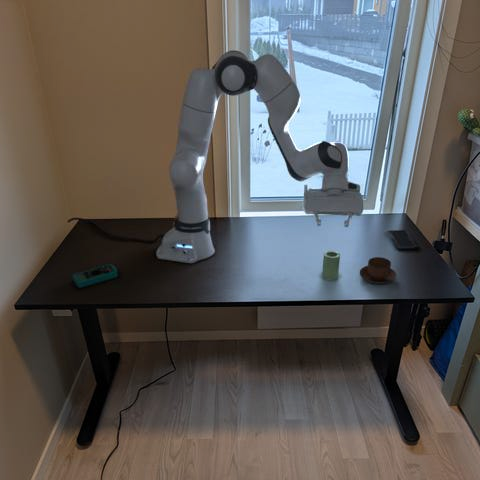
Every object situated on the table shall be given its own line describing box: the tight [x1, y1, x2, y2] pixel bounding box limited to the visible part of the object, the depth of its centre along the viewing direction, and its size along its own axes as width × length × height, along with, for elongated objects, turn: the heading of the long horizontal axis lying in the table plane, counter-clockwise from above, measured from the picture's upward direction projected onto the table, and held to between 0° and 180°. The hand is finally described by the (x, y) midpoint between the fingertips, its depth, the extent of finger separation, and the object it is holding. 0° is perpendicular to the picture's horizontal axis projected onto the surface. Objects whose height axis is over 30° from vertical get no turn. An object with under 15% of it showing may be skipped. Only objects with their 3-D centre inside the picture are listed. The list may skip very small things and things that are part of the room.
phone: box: [386, 229, 418, 251], centre depth 180 cm, size 8×1×15 cm
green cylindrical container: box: [321, 250, 341, 281], centre depth 158 cm, size 5×5×8 cm
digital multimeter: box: [72, 263, 119, 289], centre depth 163 cm, size 7×15×3 cm, turn 122°
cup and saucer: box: [359, 256, 397, 285], centre depth 156 cm, size 12×12×6 cm
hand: (332, 226), depth 160 cm, fingers open, 8 cm apart
